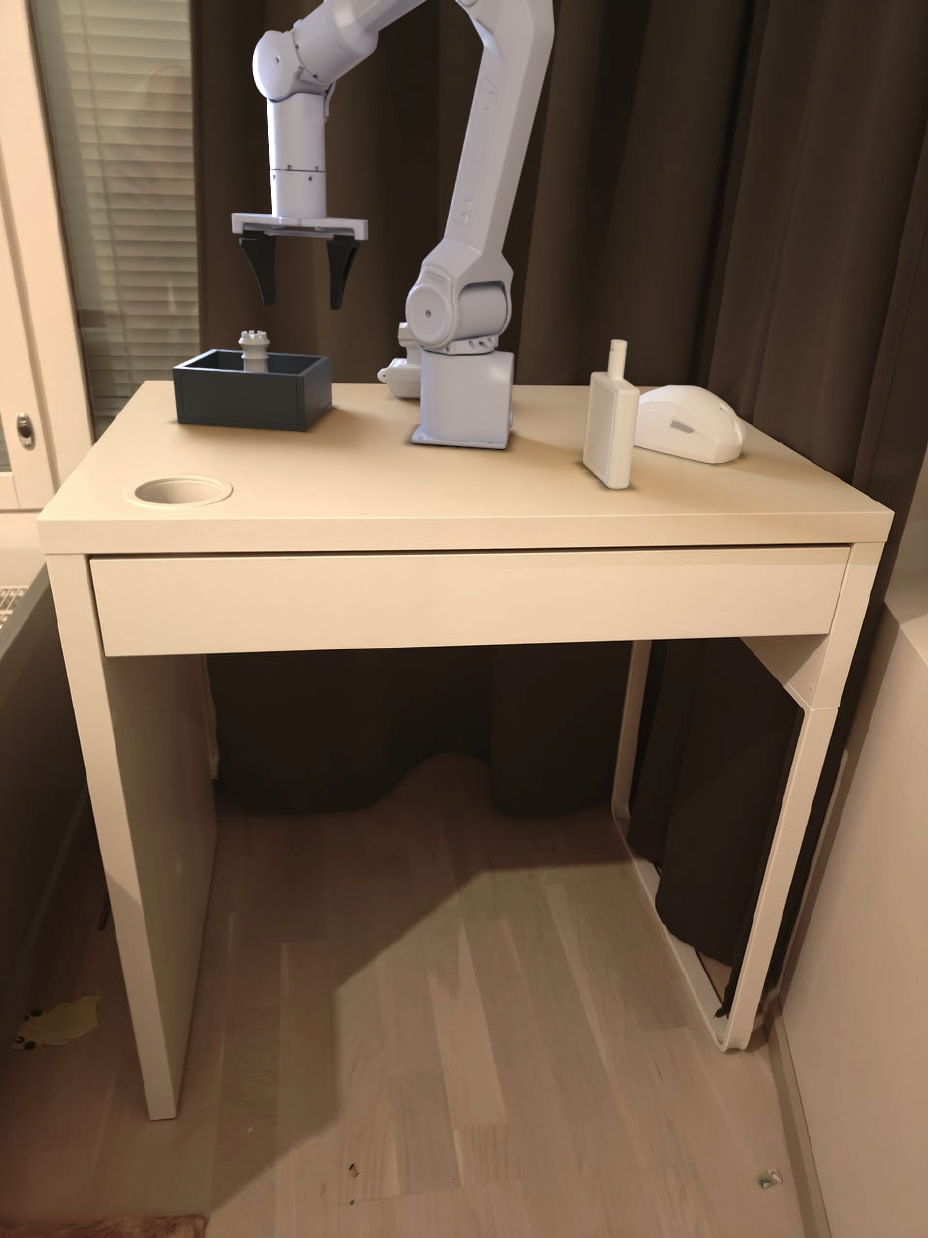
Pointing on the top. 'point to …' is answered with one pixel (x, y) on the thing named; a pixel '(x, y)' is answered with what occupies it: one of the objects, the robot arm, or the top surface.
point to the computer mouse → (689, 424)
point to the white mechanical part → (405, 368)
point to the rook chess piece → (254, 351)
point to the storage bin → (253, 391)
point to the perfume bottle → (611, 421)
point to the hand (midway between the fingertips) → (302, 306)
